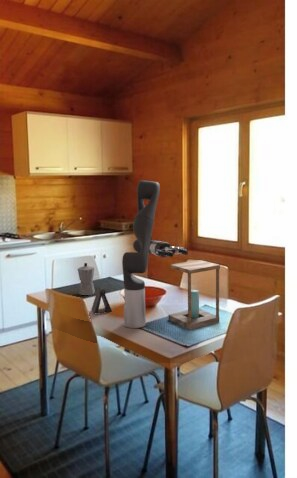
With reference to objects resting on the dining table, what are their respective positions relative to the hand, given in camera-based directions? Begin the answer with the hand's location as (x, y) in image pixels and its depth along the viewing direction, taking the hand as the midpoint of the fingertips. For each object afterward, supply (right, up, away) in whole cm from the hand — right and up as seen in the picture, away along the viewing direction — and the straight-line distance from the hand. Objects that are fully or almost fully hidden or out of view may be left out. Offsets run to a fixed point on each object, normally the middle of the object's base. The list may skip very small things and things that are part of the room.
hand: (179, 253), depth 204 cm
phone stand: (-38, -29, +13) cm, 50 cm away
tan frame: (+6, -31, -4) cm, 32 cm away
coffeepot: (-50, -25, +45) cm, 72 cm away
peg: (+6, -31, -4) cm, 32 cm away
